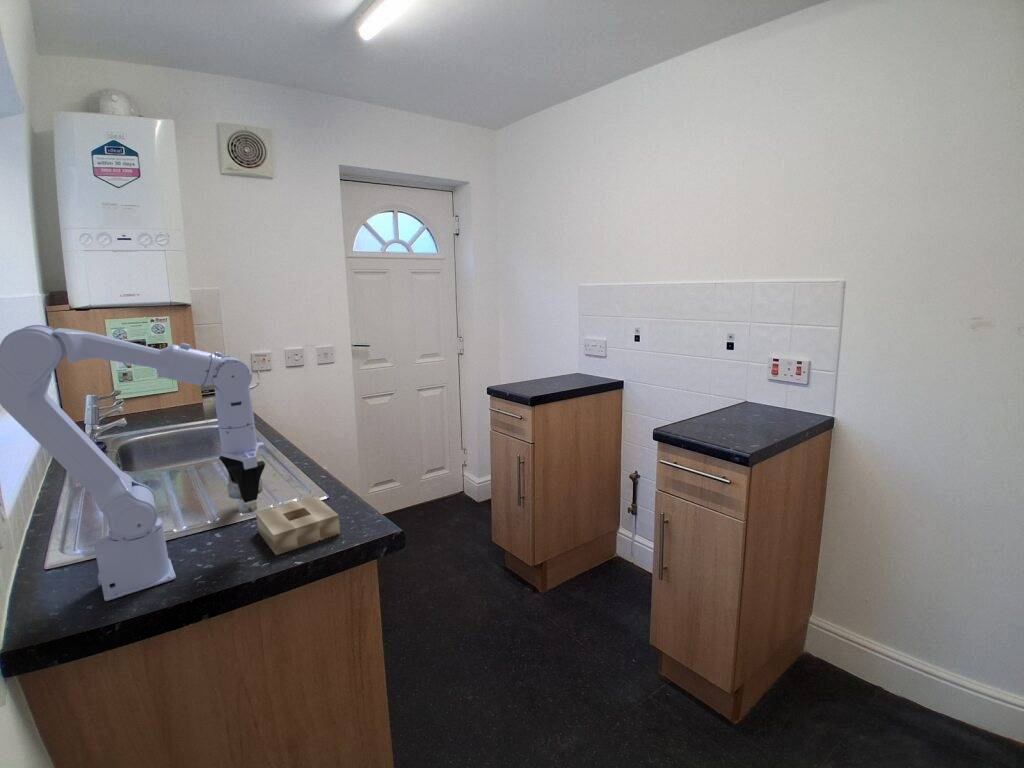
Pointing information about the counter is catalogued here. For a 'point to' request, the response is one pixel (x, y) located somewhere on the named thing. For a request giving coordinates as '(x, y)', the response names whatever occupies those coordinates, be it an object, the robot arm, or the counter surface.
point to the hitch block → (297, 524)
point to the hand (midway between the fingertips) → (246, 495)
